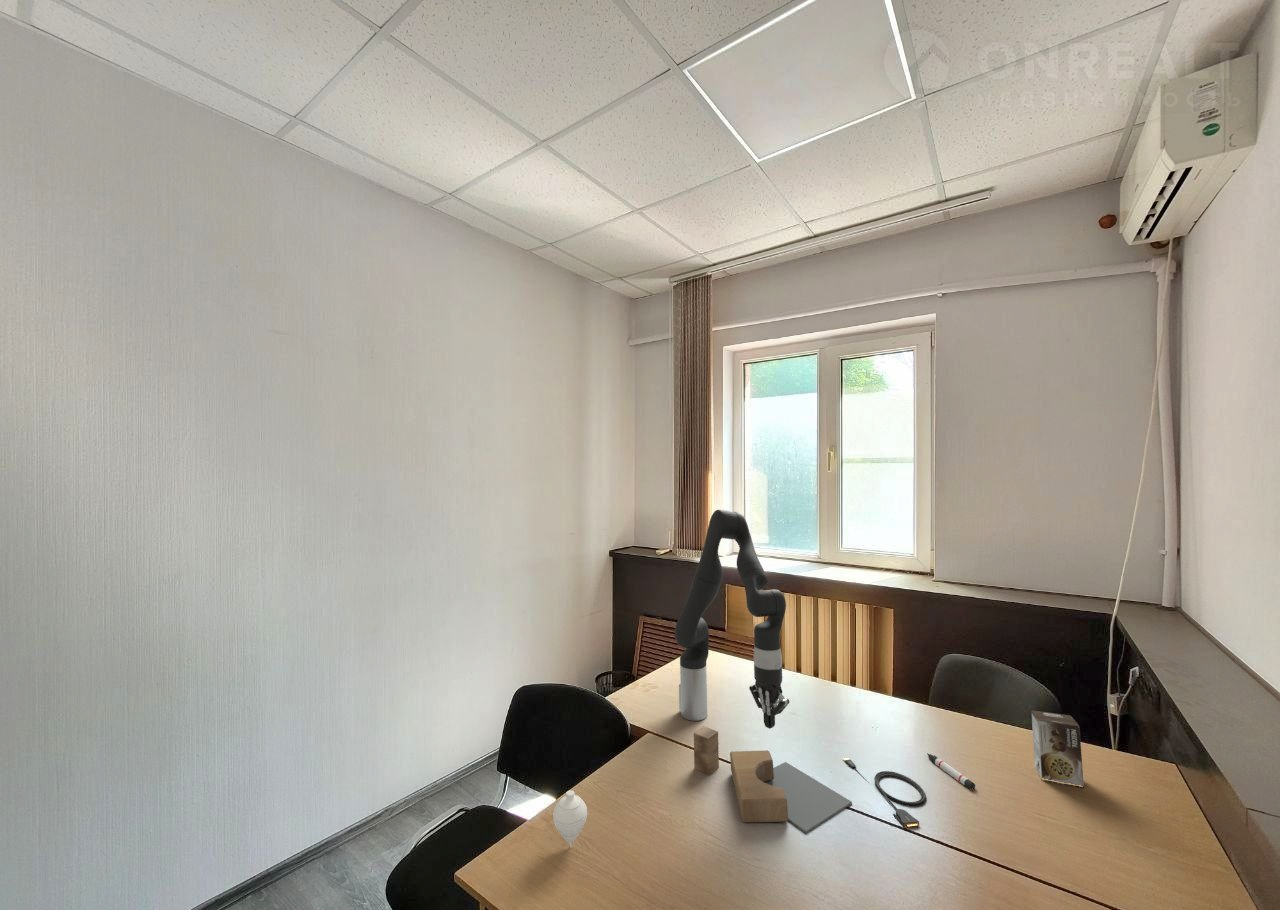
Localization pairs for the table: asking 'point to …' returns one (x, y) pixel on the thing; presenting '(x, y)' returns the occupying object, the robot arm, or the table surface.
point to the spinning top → (570, 816)
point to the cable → (901, 814)
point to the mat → (806, 797)
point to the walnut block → (706, 750)
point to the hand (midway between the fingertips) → (769, 726)
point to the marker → (952, 771)
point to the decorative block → (757, 787)
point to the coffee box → (1057, 747)
